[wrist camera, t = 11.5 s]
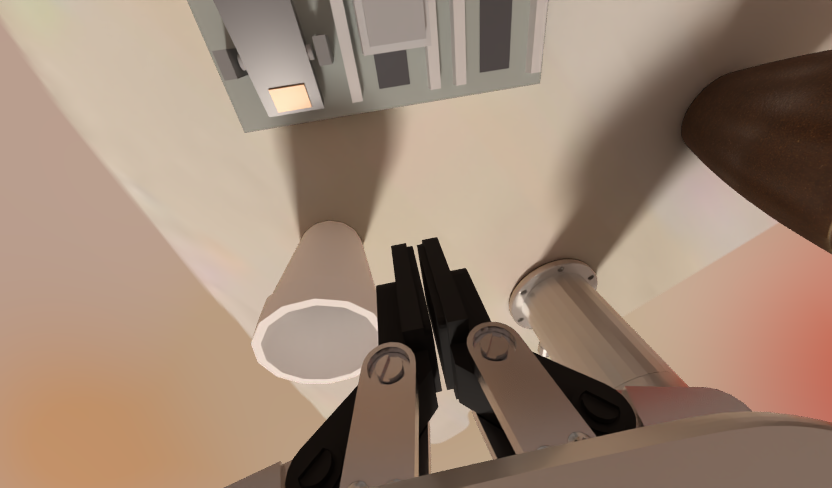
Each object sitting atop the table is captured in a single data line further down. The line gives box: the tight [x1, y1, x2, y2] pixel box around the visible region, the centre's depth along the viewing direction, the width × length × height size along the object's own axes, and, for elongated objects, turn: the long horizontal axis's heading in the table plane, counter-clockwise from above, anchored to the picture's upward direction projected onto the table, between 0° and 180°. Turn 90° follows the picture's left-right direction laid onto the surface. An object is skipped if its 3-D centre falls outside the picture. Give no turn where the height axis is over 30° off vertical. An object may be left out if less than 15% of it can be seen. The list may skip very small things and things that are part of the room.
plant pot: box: [681, 50, 832, 254], centre depth 25 cm, size 15×15×16 cm
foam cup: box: [251, 221, 378, 384], centre depth 27 cm, size 10×9×13 cm
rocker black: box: [213, 0, 324, 117], centre depth 20 cm, size 7×5×1 cm, turn 7°
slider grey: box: [352, 0, 432, 56], centre depth 18 cm, size 4×4×6 cm
